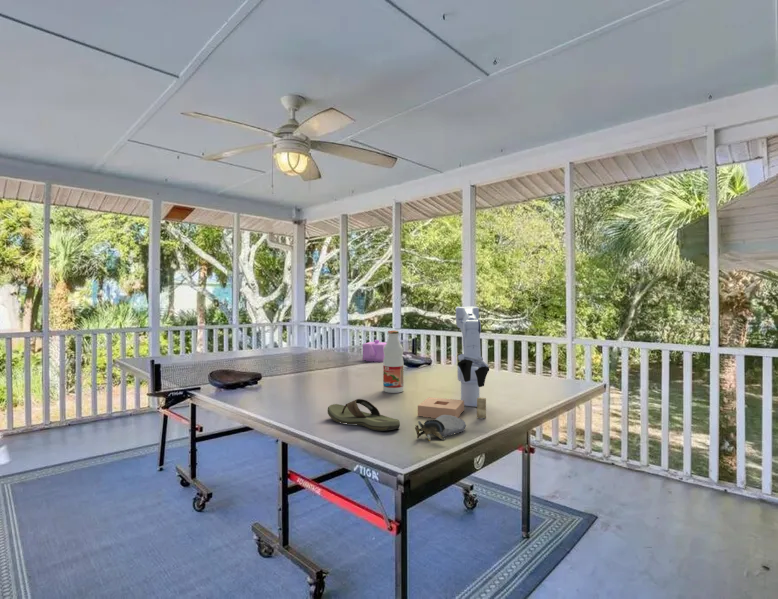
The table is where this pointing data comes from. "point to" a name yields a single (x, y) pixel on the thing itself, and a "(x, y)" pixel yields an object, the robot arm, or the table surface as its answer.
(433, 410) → the socket
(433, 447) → the table surface
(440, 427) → the eagle figurine
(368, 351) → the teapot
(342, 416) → the flip flop
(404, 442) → the table surface
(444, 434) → the stone block
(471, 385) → the robot arm
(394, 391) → the fruit juice
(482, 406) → the peg
